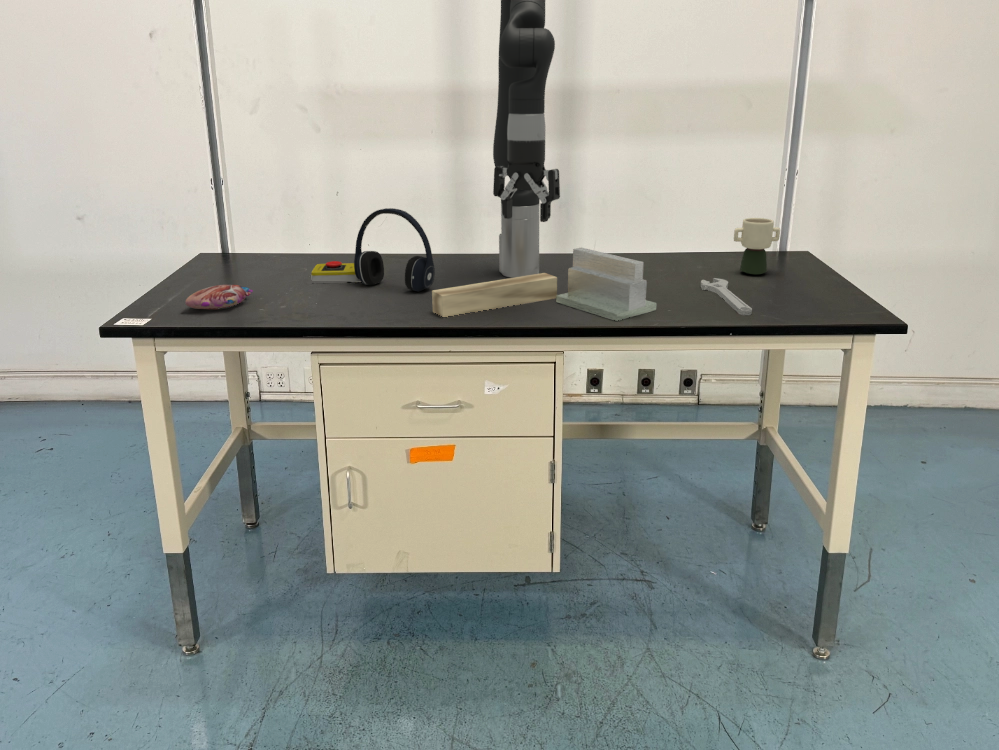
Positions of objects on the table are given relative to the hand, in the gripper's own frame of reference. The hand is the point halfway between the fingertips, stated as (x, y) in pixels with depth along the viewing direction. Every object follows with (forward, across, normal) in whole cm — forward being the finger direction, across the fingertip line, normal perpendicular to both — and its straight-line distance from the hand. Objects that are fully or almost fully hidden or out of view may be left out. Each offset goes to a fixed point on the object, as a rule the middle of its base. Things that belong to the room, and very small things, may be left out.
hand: (525, 219), depth 164 cm
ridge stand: (+18, -14, -9) cm, 25 cm away
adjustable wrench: (+19, -34, -28) cm, 48 cm away
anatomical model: (+19, +58, +30) cm, 69 cm away
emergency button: (+19, +52, +1) cm, 55 cm away
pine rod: (+19, +6, +1) cm, 20 cm away
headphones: (+19, +35, +1) cm, 40 cm away
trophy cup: (+18, -34, -52) cm, 65 cm away
